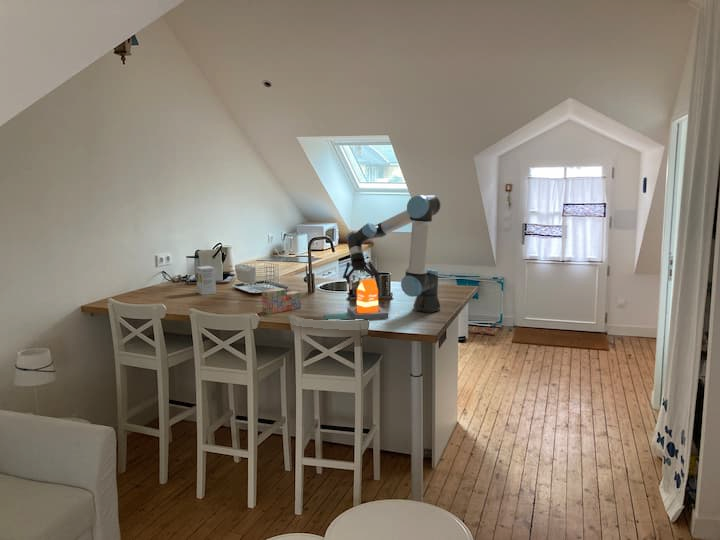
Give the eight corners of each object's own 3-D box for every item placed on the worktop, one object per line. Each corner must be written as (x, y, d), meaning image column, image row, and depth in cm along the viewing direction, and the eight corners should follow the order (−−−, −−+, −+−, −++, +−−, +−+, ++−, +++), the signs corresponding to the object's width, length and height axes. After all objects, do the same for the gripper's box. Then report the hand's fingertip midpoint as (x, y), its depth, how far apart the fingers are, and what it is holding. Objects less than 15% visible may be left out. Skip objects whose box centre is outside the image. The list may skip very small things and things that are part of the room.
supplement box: (196, 292, 382) (195, 266, 379) (210, 291, 388) (209, 265, 385) (202, 295, 374) (201, 268, 372) (216, 293, 380) (215, 267, 377)
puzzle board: (378, 310, 332) (378, 305, 332) (388, 318, 315) (388, 313, 314) (347, 312, 328) (347, 307, 327) (355, 320, 311) (355, 315, 310)
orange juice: (356, 315, 322) (356, 279, 318) (369, 313, 327) (369, 277, 324) (365, 318, 316) (365, 281, 312) (378, 315, 321) (378, 279, 318)
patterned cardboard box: (294, 306, 344) (294, 285, 341) (300, 308, 339) (300, 287, 337) (262, 312, 330) (261, 290, 328) (268, 314, 326) (267, 292, 323)
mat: (345, 314, 324) (345, 313, 324) (350, 319, 313) (350, 318, 313) (323, 315, 321) (323, 314, 321) (327, 321, 310) (327, 320, 310)
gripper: (377, 259, 341) (384, 290, 329) (334, 260, 335) (340, 292, 323) (379, 251, 335) (387, 282, 323) (336, 252, 329) (342, 284, 317)
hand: (363, 287), depth 323 cm, fingers open, 13 cm apart
